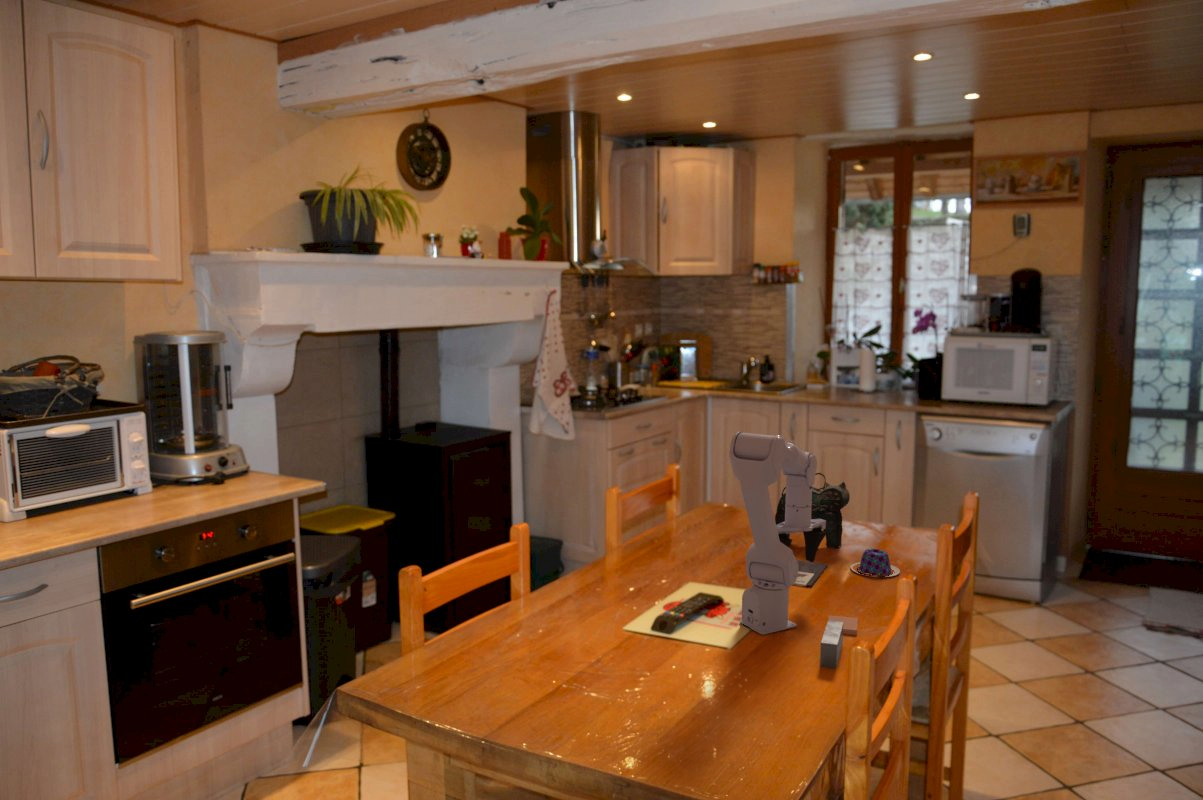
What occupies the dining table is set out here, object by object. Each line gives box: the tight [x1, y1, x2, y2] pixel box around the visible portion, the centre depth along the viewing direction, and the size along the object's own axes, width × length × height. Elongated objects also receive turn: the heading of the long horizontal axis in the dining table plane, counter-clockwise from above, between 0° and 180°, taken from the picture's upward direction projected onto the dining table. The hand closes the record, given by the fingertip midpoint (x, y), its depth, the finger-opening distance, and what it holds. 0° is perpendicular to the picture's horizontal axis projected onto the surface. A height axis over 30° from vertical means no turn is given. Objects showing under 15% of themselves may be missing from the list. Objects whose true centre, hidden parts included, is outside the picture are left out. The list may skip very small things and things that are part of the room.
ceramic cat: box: [774, 472, 851, 549], centre depth 252 cm, size 20×6×20 cm, turn 58°
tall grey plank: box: [819, 619, 844, 670], centre depth 179 cm, size 12×3×5 cm, turn 160°
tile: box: [827, 614, 859, 636], centre depth 193 cm, size 2×6×7 cm
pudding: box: [850, 548, 901, 578], centre depth 230 cm, size 12×12×5 cm
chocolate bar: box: [792, 559, 829, 588], centre depth 228 cm, size 9×1×18 cm
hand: (796, 563), depth 206 cm, fingers open, 7 cm apart
